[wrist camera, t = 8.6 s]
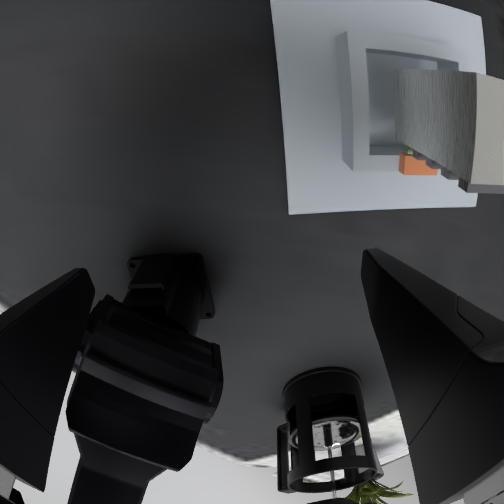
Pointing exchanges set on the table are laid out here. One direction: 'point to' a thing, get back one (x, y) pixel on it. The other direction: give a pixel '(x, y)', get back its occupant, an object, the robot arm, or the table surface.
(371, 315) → the robot arm
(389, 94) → the stand base
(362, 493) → the house plant
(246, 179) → the table surface
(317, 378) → the french press
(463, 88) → the column
